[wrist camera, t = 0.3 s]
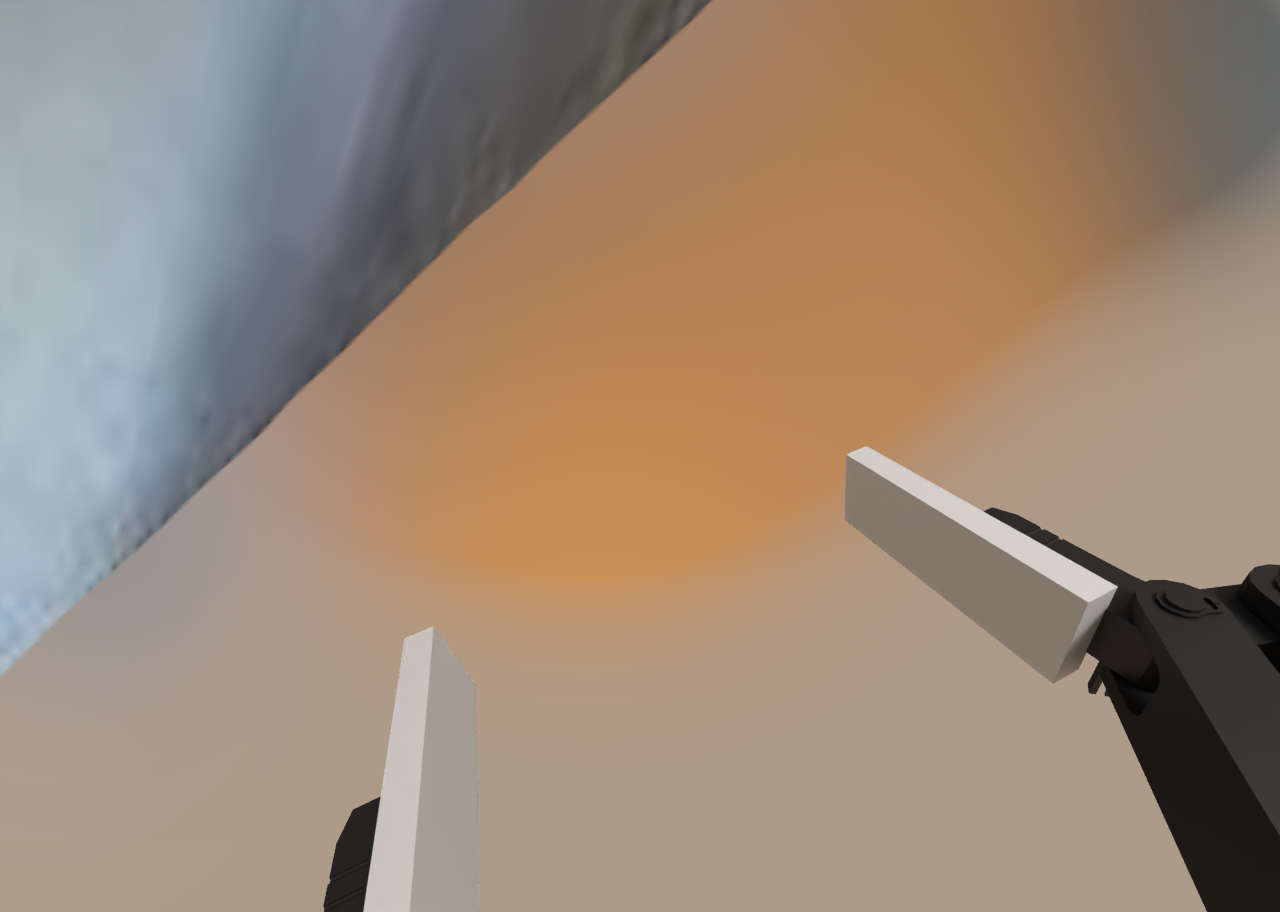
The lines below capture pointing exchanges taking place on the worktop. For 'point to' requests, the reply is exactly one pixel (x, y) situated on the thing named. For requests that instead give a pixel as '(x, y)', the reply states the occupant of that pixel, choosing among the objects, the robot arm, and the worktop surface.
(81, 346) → the worktop surface
